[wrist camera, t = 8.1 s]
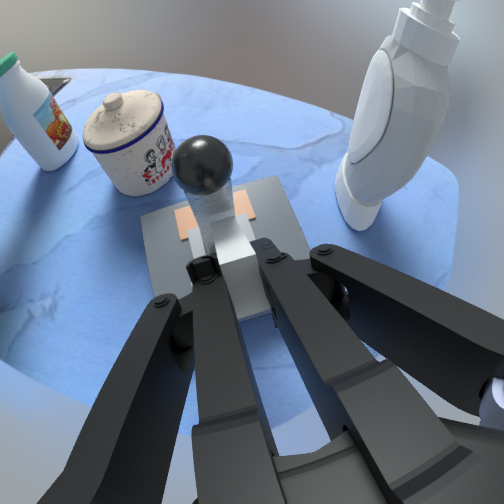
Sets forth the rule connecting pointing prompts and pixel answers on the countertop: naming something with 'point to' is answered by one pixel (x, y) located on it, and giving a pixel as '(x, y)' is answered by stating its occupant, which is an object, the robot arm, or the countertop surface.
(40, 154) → the milk bottle
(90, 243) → the countertop surface
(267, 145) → the countertop surface
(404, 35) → the soap bottle
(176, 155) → the lever
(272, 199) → the switch base
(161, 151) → the teacup with lid
